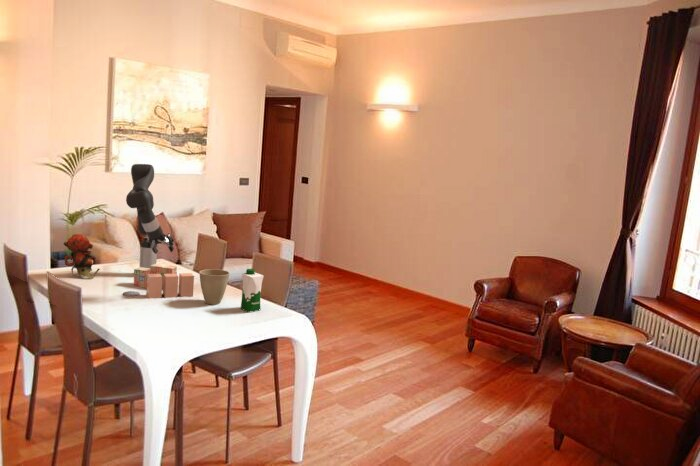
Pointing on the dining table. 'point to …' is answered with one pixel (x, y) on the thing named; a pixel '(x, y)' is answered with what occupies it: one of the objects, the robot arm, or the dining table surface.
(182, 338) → the dining table surface
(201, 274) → the plant pot
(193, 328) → the dining table surface
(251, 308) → the milk carton
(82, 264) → the stuffed monkey
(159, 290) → the salmon pink rectangular block
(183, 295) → the peach rectangular block
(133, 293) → the grey round disc
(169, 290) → the salmon rectangular block
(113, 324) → the dining table surface
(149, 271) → the stack of blocks
